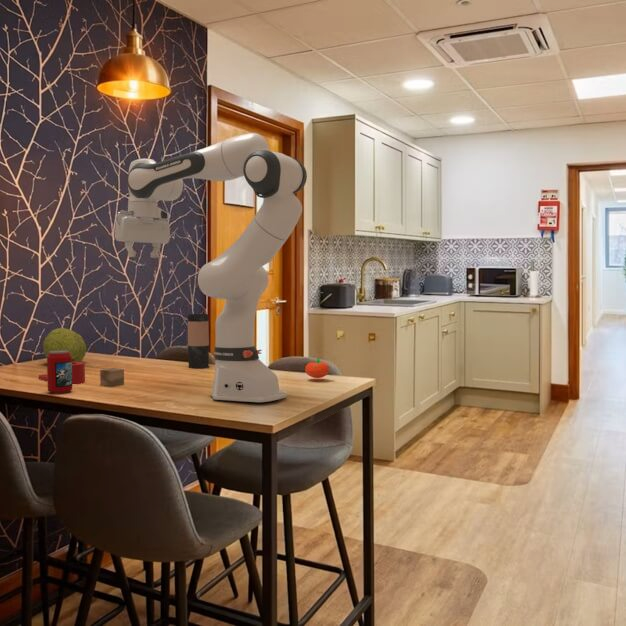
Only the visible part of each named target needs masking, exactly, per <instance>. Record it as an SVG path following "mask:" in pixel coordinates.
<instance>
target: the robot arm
mask: <svg viewBox="0 0 626 626" xmlns="http://www.w3.org/2000/svg"><path fill="white" fill-rule="evenodd" d="M240 177H244V179H245V181H246V183H247V184H248V185H249V187H250V188H251V189H252V190H253V192H254V194H255V195H256V196H257V197H258V198H262V199H263V200H262V204H261V206H260V208H259V209H258V210H257V212H256V213H255V215H254V217H253V218H252V219H251V221H250V222H249V223H248V225H247V226H246V227H245V229H244V230H243V232H242V233H241V235H239V237H238V238H237V239H236V240H235V241H234V242H233V243H232V244H231V245H230V246H229V247H227V248H226V249H225V251H223V252H222V253H221V254H220V255H218V256H217V257H216V258H214V259H213V260H211V261H209V262H207V263H205V264H203V266H201V268H200V269H199V272H198V275H197V284H198V287H199V290H200V291H201V292H202V294H203V295H205V296H207V297H210V298H213V299H217V300H225V302H224V306H223V307H222V311H221V313H220V314H219V315H218V316H217V318H216V319H215V346H214V347H213V348H214V350H213V351H214V352H213V353H214V354H213V358H214V362H215V363H214V364H215V366H214V375H213V381H212V382H213V383H212V388H211V392H210V395H209V396H211V397H212V400H220V401H230V402H231V401H233V402H235V401H236V402H246V403H247V402H250V403H265V402H272V401H276V400H277V401H278V400H281V399H284V398H286V397H287V396H288V393H287V391H282V390H280V384H279V379H278V376H277V374H276V373H275V372H274V371H272V369H270V368H269V367H268V366H267V365H266V364H265V363H264V362H263V361H262V360H260V356H259V355H261V354H262V351H263V349H257V348H256V346H255V318H256V314H257V310H258V309H257V308H258V305H259V302H260V299H261V297H262V295H263V294H264V292H265V291H266V290H267V288H268V285H269V274H268V272H267V270H266V269H265V267H264V266H265V265H267V264H269V263H270V262H272V260H273V259H275V257H276V255H277V254H278V252H280V249H282V247H283V245H284V244H285V243H286V242H287V240H288V239H289V237H290V236H291V234H292V232H293V231H294V229H295V227H296V226H297V223H298V222H299V220H300V217H301V215H302V212H303V204H302V203H301V201H300V199H299V198H298V196H296V195H295V194H296V193H297V194H298V193H299V192H300V191H302V189H304V187H305V185H306V183H307V178H308V173H307V169H306V168H305V166H304V165H303V163H302V162H301V161H300V160H298V159H296V158H295V157H292V156H288V155H286V154H284V153H282V152H277V151H271V150H270V146H269V143H268V141H267V140H266V139H265V137H263V135H261V134H260V133H257V132H249V133H243V134H241V135H239V134H238V135H235V136H232V137H229V138H227V139H223V140H221V141H219V142H217V143H214V144H212V145H209V146H207V147H204V148H201V149H198V150H195V151H191V152H188V153H185V154H181V155H178V156H175V157H172V158H168V159H165V160H163V161H159V162H157V161H155V159H153V158H148V157H147V158H146V157H145V158H137V159H134V160H133V161H131V163H130V164H129V168H128V174H127V177H126V178H127V180H126V182H127V189H128V193H129V195H128V201H127V210H123V209H122V210H120V211H118V212H117V214H116V221H115V227H114V238H115V240H116V242H124V247H125V249H126V251H127V256H128V258H135V257H136V255H137V254H136V252H137V251H135V250H134V248H133V246H134V243H144V244H152V248H153V249H152V251H150V252H149V253H150V258H152V259H157V258H158V257H159V256H158V255H159V251H160V249H161V246H162V244H163V245H164V244H165V245H166V244H169V242H170V239H171V226H170V223H169V219H170V213H168V212H167V211H165V210H164V209H162V208H160V207H159V206H158V201H163V202H171V201H176V200H178V199H179V198H180V197H181V196H182V194H183V191H184V187H185V186H184V185H185V184H184V180H185V179H199V180H208V181H213V182H225V181H232V180H235V179H239V178H240Z"/></svg>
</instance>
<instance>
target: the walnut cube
mask: <svg viewBox="0 0 626 626" xmlns="http://www.w3.org/2000/svg"><path fill="white" fill-rule="evenodd" d="M99 374H100V375H99V378H100V379H99V380H100V381H99V383H100V386H102V387H109V388H113V387H119V386H124V385H125V368H115V367H112V368H111V367H110V368H103V369H100V370H99Z"/></svg>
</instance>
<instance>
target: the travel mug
mask: <svg viewBox="0 0 626 626" xmlns="http://www.w3.org/2000/svg"><path fill="white" fill-rule="evenodd" d="M209 324H210V323H209V313H190V314H187V358H188V361H187V362H188V368H189V369H192V370H193V369H194V370H204V369H209V364H210V363H209V362H210V360H209V357H210V354H209V353H210V338H209V337H210V335H209V332H210V331H209V327H210V326H209Z"/></svg>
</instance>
